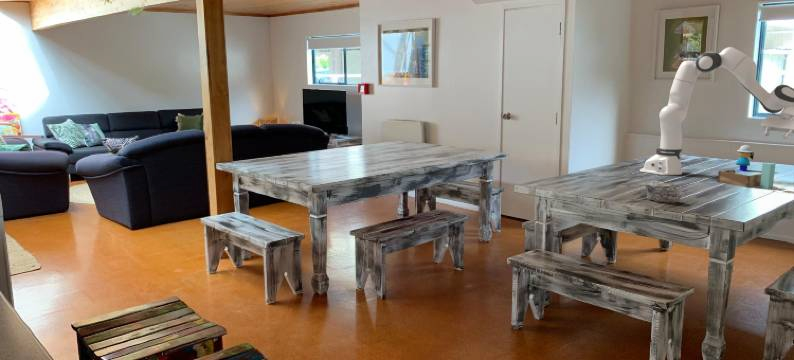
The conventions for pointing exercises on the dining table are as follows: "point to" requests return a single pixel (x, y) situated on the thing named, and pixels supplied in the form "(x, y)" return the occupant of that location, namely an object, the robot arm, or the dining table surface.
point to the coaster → (766, 188)
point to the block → (767, 175)
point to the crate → (738, 178)
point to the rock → (662, 192)
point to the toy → (744, 157)
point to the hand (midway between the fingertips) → (775, 136)
